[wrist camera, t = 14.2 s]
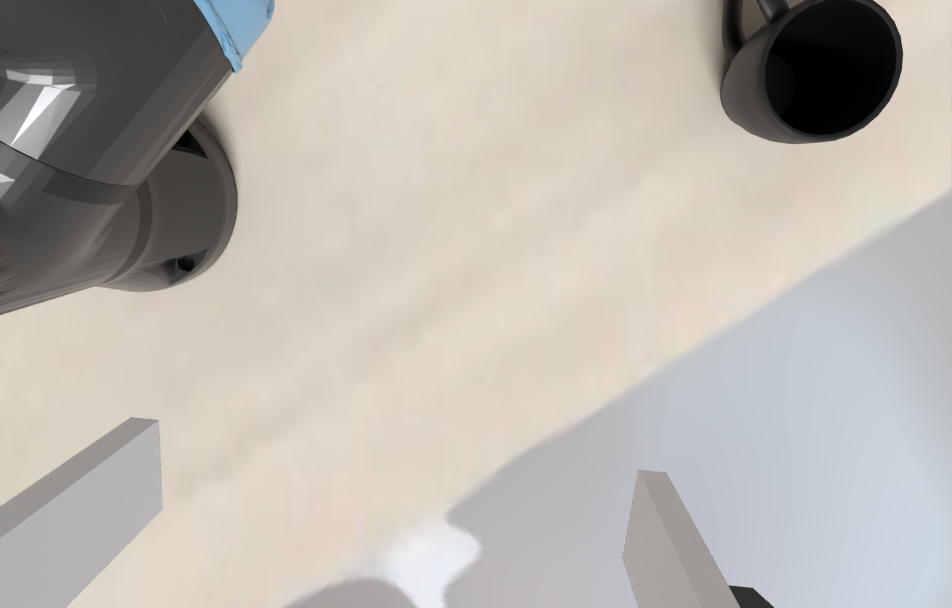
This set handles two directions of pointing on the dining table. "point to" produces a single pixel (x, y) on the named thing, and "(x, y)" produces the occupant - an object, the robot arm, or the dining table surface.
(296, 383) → the dining table surface
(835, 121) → the mug
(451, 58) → the dining table surface
